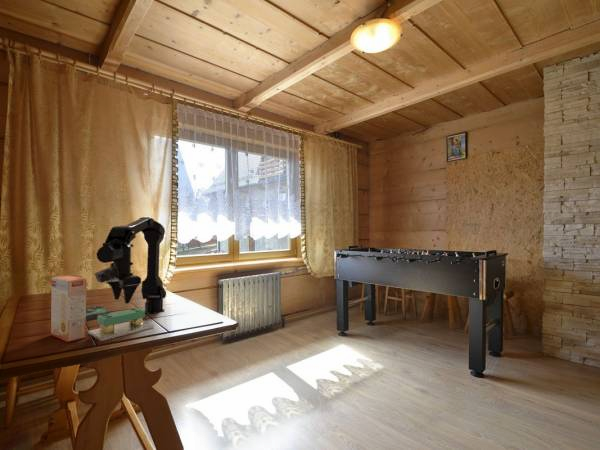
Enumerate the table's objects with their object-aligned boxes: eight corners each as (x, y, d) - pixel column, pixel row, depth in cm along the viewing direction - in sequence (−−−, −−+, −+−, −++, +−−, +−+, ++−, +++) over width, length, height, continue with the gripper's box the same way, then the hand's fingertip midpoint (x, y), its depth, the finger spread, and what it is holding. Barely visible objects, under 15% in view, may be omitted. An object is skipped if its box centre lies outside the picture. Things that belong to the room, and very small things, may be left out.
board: (137, 314, 122) (137, 307, 122) (144, 317, 118) (144, 310, 118) (97, 322, 111) (97, 315, 111) (104, 326, 107) (104, 319, 107)
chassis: (139, 321, 125) (139, 308, 125) (153, 327, 118) (153, 313, 118) (88, 333, 111) (88, 318, 111) (100, 341, 104) (100, 325, 104)
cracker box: (87, 337, 107) (87, 278, 107) (66, 343, 102) (67, 280, 102) (70, 330, 115) (70, 274, 115) (50, 335, 110) (50, 276, 110)
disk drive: (70, 316, 134) (83, 322, 126) (70, 310, 134) (83, 315, 126) (96, 311, 143) (111, 316, 134) (96, 305, 143) (111, 309, 134)
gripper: (88, 260, 114) (88, 301, 114) (107, 263, 102) (107, 310, 102) (120, 257, 123) (120, 296, 123) (141, 260, 111) (141, 303, 111)
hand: (121, 301), depth 114 cm, fingers open, 9 cm apart
